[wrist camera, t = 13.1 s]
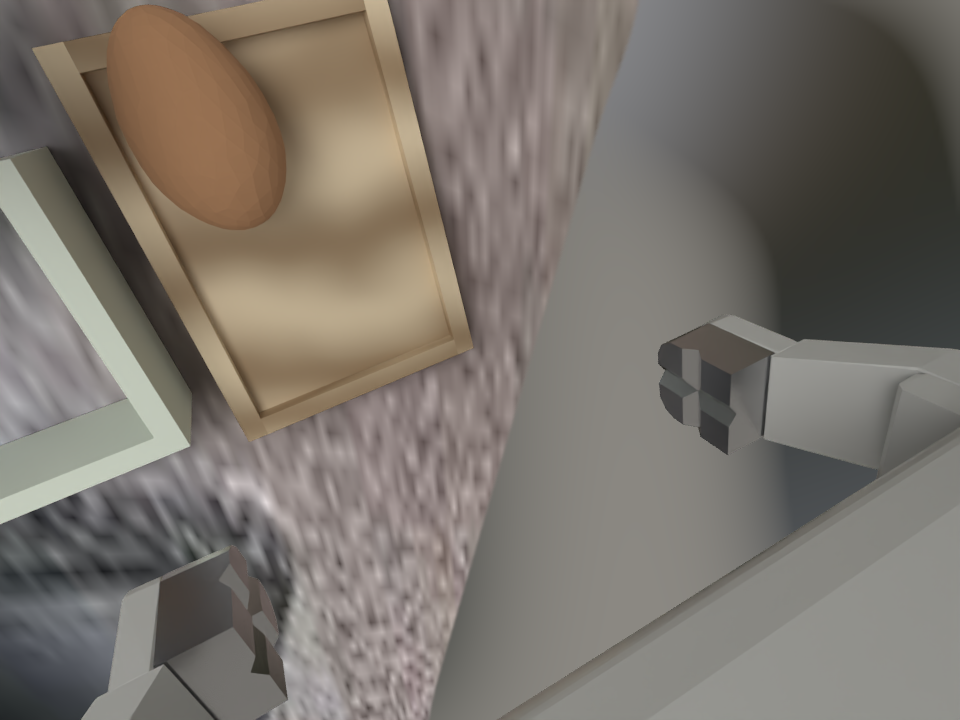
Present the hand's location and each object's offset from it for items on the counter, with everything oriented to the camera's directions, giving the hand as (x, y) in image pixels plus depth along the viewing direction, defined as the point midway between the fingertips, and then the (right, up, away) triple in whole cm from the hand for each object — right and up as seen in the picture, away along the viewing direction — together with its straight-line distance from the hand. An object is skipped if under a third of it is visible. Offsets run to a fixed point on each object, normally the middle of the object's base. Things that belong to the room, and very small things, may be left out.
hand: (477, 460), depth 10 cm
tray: (-9, +8, +17) cm, 21 cm away
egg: (-9, +7, +13) cm, 17 cm away
